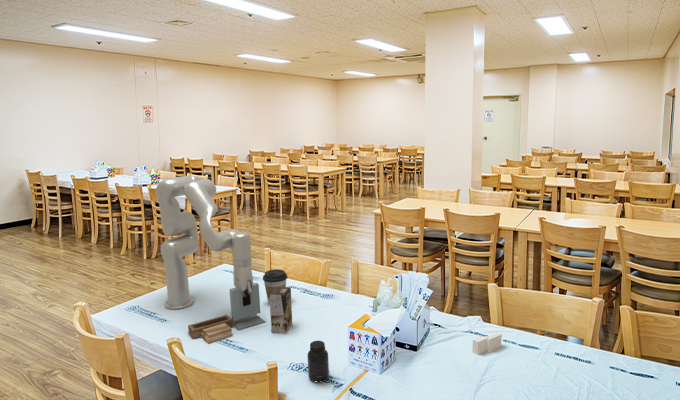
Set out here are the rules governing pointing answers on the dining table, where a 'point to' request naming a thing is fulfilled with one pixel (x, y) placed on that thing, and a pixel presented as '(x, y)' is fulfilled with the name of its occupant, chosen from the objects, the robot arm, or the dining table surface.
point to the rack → (208, 325)
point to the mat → (248, 322)
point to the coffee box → (281, 309)
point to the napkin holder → (487, 343)
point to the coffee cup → (274, 281)
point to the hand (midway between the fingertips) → (245, 303)
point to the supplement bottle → (318, 361)
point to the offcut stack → (217, 333)
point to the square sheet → (237, 303)
